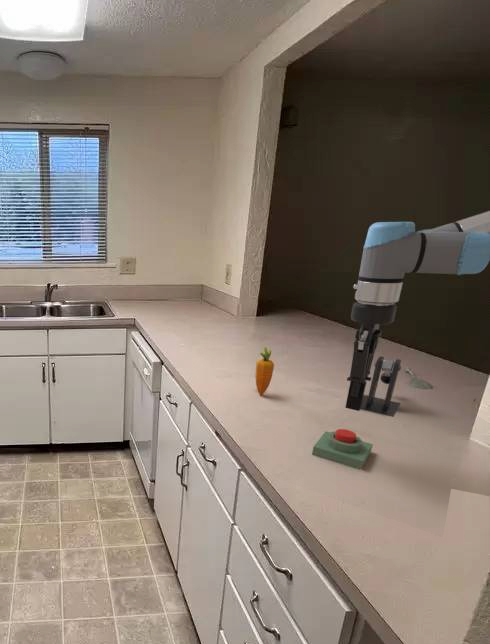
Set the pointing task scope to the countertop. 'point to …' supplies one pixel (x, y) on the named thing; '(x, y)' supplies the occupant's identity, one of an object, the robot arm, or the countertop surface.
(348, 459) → the button box
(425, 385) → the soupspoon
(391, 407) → the twin-post stand
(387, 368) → the grey swinging pendulum
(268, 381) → the carrot
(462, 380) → the countertop surface
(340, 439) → the button
